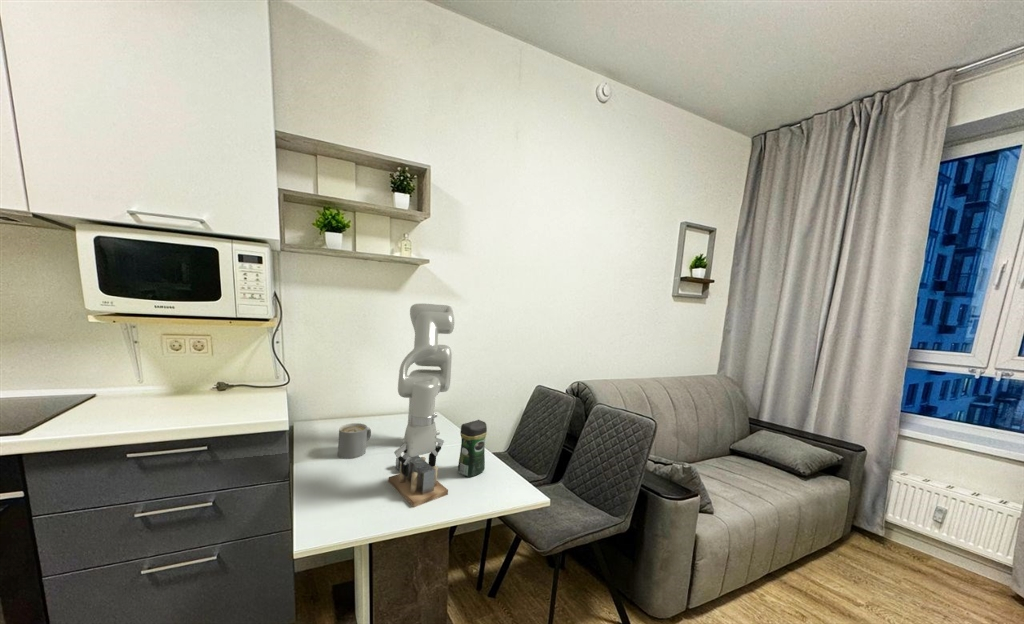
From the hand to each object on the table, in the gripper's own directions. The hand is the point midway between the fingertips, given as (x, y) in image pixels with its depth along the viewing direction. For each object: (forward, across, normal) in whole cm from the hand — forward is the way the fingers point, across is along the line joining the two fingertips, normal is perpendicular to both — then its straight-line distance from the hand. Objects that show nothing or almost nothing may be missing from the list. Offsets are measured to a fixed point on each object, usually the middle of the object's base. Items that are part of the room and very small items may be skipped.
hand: (418, 470), depth 115 cm
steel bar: (+4, 0, 0) cm, 4 cm away
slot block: (+6, -3, -14) cm, 15 cm away
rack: (+6, 0, 0) cm, 6 cm away
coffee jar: (+6, -21, +1) cm, 22 cm away
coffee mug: (+6, +7, -37) cm, 38 cm away
